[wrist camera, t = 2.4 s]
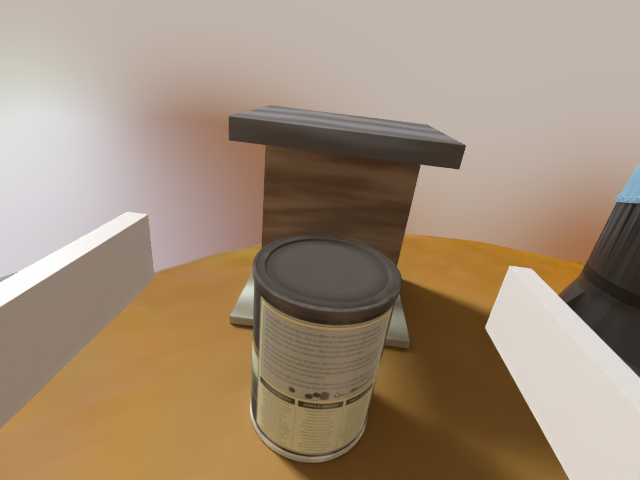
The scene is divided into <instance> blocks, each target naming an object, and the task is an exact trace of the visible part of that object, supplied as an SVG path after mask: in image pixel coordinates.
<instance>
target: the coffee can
mask: <svg viewBox="0 0 640 480" xmlns="http://www.w3.org/2000/svg"><path fill="white" fill-rule="evenodd" d="M253 279H254V309H253V350H252V382H251V401H250V414H251V419H252V423H253V426H254V428H255V430H256V432H257V434H258V436H259V437H260V438H261V439H262V440H263V442H264V443H265V444H266V445H267V446H268V447H270V448H271V449H272V450H273V451H275V452H276V453H278V454H280V455H282V456H284V457H286V458H288V459H291V460H294V461H298V462H308V463H318V462H325V461H329V460H332V459H335V458H337V457H339V456H341V455H343V454H345V453H347V452H348V451H349V450H350V449H351V448H352V447H353V446H355V444H356V443H357V442H358V441H359V439H360V438H361V436H362V435H363V433H364V430H365V427H366V424H367V418H368V412H369V407H370V403H371V399H372V395H373V391H374V387H375V383H376V379H377V375H378V371H379V367H380V363H381V359H382V355H383V351H384V347H385V343H386V338H387V334H388V330H389V326H390V322H391V318H392V314H393V309H394V305H395V301H396V300H397V298H398V296H399V293H400V290H401V286H402V278H401V274H400V272H399V270H398V268H397V266H396V265H395V264H394V263H393V262H392V261H391V260H390V259H389V258H388V257H387V256H386V255H384V254H383V253H381V252H379V251H378V250H376V249H374V248H372V247H370V246H368V245H365V244H363V243H360V242H357V241H354V240H350V239H346V238H342V237H336V236H328V235H298V236H292V237H287V238H283V239H279V240H277V241H274V242H272V243H270V244H268V245H266V246H265V247H264V248H262V249H261V250H260V251H259V252H258V253H257V255H256V256H255V258H254V261H253Z"/></svg>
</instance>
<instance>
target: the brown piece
mask: <svg viewBox="0 0 640 480" xmlns="http://www.w3.org/2000/svg"><path fill="white" fill-rule="evenodd" d="M229 140H231V141H240V142H247V143H255V144H263V145H266V154H265V178H264V202H263V227H262V248H264V247H265V246H266V245H268V244H270V243H272V242H274V241H277V240H279V239H283V238H287V237H292V236H298V235H328V236H336V237H342V238H346V239H350V240H354V241H357V242H360V243H363V244H365V245H368V246H370V247H372V248H374V249H376V250H378V251H379V252H381V253H383V254H384V255H386V256H387V257H388V258H389V259H390V260H391V261H392V262H393V263H394V264H395V265H396V266H397V264H398V259H399V255H400V251H401V246H402V242H403V238H404V234H405V229H406V225H407V221H408V216H409V212H410V207H411V203H412V199H413V195H414V191H415V186H416V182H417V178H418V173H419V169H420V165H429V166H437V167H445V168H453V169H459V168H460V165H461V161H462V158H463V154H464V151H465V147H466V145H464V144H462V143H460V142H458V141H457V140H454V139H453V138H451V137H449V136H447V135H445V134H444V133H442V132H440V131H438V130H436V129H434V128H432V127H430V126H429V125H425V124H417V123H409V122H401V121H393V120H385V119H377V118H368V117H360V116H351V115H344V114H336V113H327V112H319V111H311V110H303V109H295V108H287V107H278V106H266V107H262V108H259V109H254V110H250V111H246V112H243V113H239V114H235V115H231V116H229ZM253 309H254V279H253V273H252V275H251V277H250V279H249V280H248V282H247V284H246V286H245V288H244V290H243V292H242V294H241V296H240V298H239V299H238V301H237V303H236V305H235V307H234V309H233V311H232V313H231V315H230V323H232V324H239V325H246V326H253ZM409 344H410V338H409V334H408V330H407V325H406V321H405V316H404V312H403V308H402V303H401V299H400V294H399V296H398V298H397V300H396V301H395V305H394V309H393V314H392V318H391V322H390V326H389V330H388V334H387V338H386V343H385V346H392V347H399V348H406V349H408V348H409Z"/></svg>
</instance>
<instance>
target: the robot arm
mask: <svg viewBox="0 0 640 480" xmlns="http://www.w3.org/2000/svg"><path fill="white" fill-rule="evenodd" d="M616 201H617V203H616V205H615V207H614V209H613V211H612V213H611V215H610V217H609V219H608V221H607V223H606V225H605V227H604V229H603V231H602V233H601V235H600V237H599V239H598V241H597V243H596V244H595V246H594V248H593V250H592V252H591V254H590V256H589V258H588V260H587V262H586V264H585V266H584V268H583V270H582V272H581V274H580V275H579V277H577V278H576V279H575V280H574V281H573V282H572V283H571V284H570V285H569V286H567V287H566V288H565V289H564V290H563V291H562V292H561V293H560V294H559V295H557V294H556V293H555V292H554V291H553V290H552V289H551V288H550V287H549V286H548V285H547V284H546V283H545V282H544V281H543V280H542V279H541V278H540V277H539V276H538V275H537V274H536V273H535V272H534V271H533V270H532V269H529V268H522V267H515V266H509V269H508V271H507V274H506V276H505V279H504V281H503V284H502V286H501V289H500V291H499V294H498V296H497V299H496V301H495V304H494V306H493V309H492V311H491V314H490V316H489V319H488V321H487V324H486V326H485V329H486V330H487V332H488V334H489V336H490V338H491V339H492V341H493V343H494V345H495V347H496V348H497V350H498V352H499V354H500V356H501V357H502V359H503V361H504V363H505V365H506V366H507V368H508V370H509V372H510V374H511V375H512V377H513V379H514V381H515V383H516V384H517V386H518V388H519V390H520V392H521V393H522V395H523V397H524V399H525V401H526V402H527V404H528V406H529V408H530V410H531V411H532V413H533V415H534V417H535V419H536V420H537V422H538V424H539V426H540V428H541V429H542V431H543V433H544V435H545V436H546V438H547V440H548V442H549V444H550V445H551V447H552V449H553V451H554V453H555V454H556V456H557V458H558V460H559V462H560V463H561V465H562V467H563V469H564V471H565V472H566V474H567V476H568V478H569V480H640V165H639V166H638V167H637V168H636V169H635V170H634V172H633V173H632V175H631V177H630V179H629V180H628V182H627V184H626V185H625V187H624V189H623V190H622V192H621V194H619V195H618V196H617V197H616ZM153 280H154V270H153V260H152V251H151V241H150V230H149V220H148V215H147V214H141V213H133V212H126V213H124V214H122V215H121V216H119V217H117V218H116V219H113V220H112V221H110V222H108V223H106V224H104V225H103V226H101V227H99V228H97V229H96V230H94V231H92V232H90V233H88V234H86V235H85V236H83V237H81V238H79V239H77V240H76V241H74V242H72V243H70V244H68V245H66V246H65V247H63V248H61V249H59V250H57V251H56V252H54V253H52V254H50V255H49V256H47V257H45V258H43V259H42V260H39V261H38V262H36V263H34V264H32V265H30V266H29V267H27V268H25V269H23V270H21V271H19V272H17V273H14V274H11V275H8V276H5V277H2V278H0V429H1V428H2V427H3V426H4V425H5V424H6V423H7V422H8V421H9V420H10V419H11V418H12V417H13V416H14V415H15V414H16V413H17V412H18V411H19V410H20V409H22V408H23V407H24V406H25V405H26V404H27V403H28V402H29V401H30V400H31V399H32V398H33V397H34V396H35V395H36V394H37V393H38V392H39V391H40V390H41V389H42V388H43V387H44V386H45V385H46V384H47V383H48V382H49V381H50V380H51V379H52V378H53V377H54V376H55V375H56V374H57V373H58V372H60V371H61V370H62V369H63V368H64V367H65V366H66V365H67V364H68V363H69V362H70V361H71V360H72V359H73V358H74V357H75V356H76V355H77V354H78V353H79V352H80V351H81V350H82V349H83V348H84V347H85V346H86V345H87V344H88V343H89V342H90V341H91V340H92V339H93V338H94V337H95V336H97V335H98V334H99V333H100V332H101V331H102V330H103V329H104V328H105V327H106V326H107V325H108V324H109V323H110V322H111V321H112V320H113V319H114V318H115V317H116V316H117V315H118V314H119V313H120V312H121V311H122V310H123V309H124V308H125V307H126V306H127V305H128V304H129V303H130V302H131V301H132V300H133V299H135V298H136V297H137V296H138V295H139V294H140V293H141V292H142V291H143V290H144V289H145V288H146V287H147V286H148V285H149V284H150V283H151V282H152V281H153Z"/></svg>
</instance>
